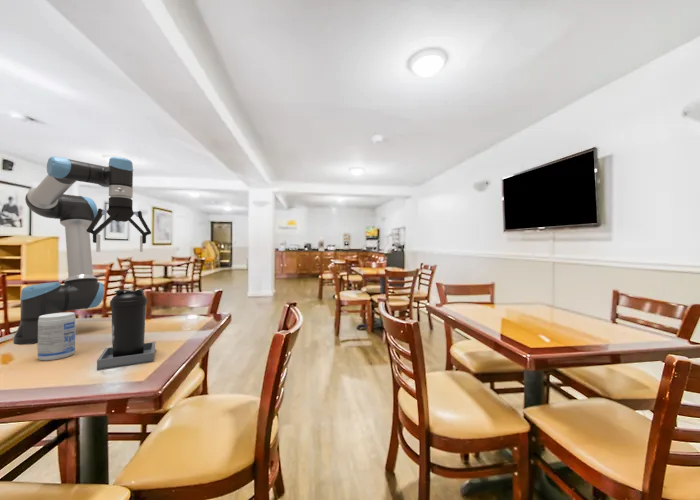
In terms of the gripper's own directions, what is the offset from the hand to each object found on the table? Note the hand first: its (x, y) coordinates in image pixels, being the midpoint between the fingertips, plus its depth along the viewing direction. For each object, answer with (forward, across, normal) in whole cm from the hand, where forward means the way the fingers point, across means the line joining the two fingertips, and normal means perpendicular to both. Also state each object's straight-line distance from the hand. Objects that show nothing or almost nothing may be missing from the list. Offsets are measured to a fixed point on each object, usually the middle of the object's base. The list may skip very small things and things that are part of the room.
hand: (120, 251), depth 120 cm
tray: (+37, +5, -21) cm, 43 cm away
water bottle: (+36, +5, -21) cm, 42 cm away
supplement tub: (+37, -17, -5) cm, 41 cm away
